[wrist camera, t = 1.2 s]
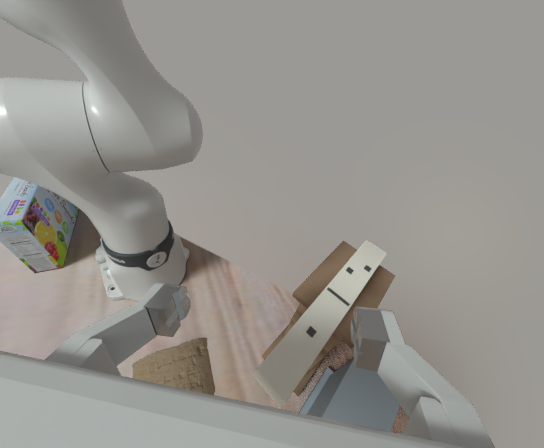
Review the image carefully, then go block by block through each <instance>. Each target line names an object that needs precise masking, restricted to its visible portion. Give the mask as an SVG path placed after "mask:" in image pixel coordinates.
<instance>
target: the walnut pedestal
mask: <svg viewBox="0 0 544 448" xmlns="http://www.w3.org/2000/svg"><path fill="white" fill-rule="evenodd" d="M356 251H357V250H356V249H355V248H353V247H352V246H350V245H349V244H348V243H346V242H344V241H343V242H342V243H341V244H340V245H339V246H338V247H337V248H336V249H335V250H334V251H333V252H332V253H331V254H330V255H329V256H328V257H327V258H326V259H325V260H324V261H323V263H322V264H320V265H319V267H318V268H317V269H316V270H315V271H314V272H313V273H312V274H311V275H310V276H309V277H308V278H307V279H306V280H305V281H304V282H303V283H302V284H301V285H300V286H299V287H298V288H297V289H296V290H295V291H294V293H293V295H292V296H293V297H294V298H296V299H297V300H298V301H299V302H300V305H299V306H298V308H297V310H296V312H295V314H294V316H293V318H292V320H291V322H290V324H289V325H288V326H287V327H286V328H285V330H284V331H283V332H282V333H281V334H280V335H279V337H278V338H277V339H276V340H275V341H274V342H273V343H272V345H271V346H270V347H269V348H268V349H267V350H266V352H265V353H264V354H263V355H262V357H263V358H264V359H266V357H267V356H268V355H269V354H270V353H271V352H272V350H273V349H274V348H275V347H276V346H277V344H278V343H279V342H280V341H281V340H282V339H283V337H284V336H285V335H286V334H287V333H288V331H289V330H290V329H291V328H292V327H293V326H294V324H295V323H296V322H297V321H298V320H299V318H300V317H301V316H302V315H303V314H304V313H305V311H306V310H307V309H308V308H309V307H310V305H311V304H312V303H313V302H314V301H315V300H316V298H317V297H318V296H319V295H320V294H321V293H322V291H323V290H324V289H325V288H326V287H327V285H328V284H329V283H330V282H331V281H332V280H333V278H334V277H335V276H336V275H337V274H338V272H339V271H340V270H341V269H342V268H343V267H344V265H345V264H346V263H347V262H348V261H349V259H350V258H351V257H352V256H353V255H354V254H355V252H356ZM394 277H395V275H393V274H392V273H390V272H389V271H387V270H386V269H384V268H383V267H382V266H380V265H379V266H378V267H377V269H376V270H375V272H374V273H373V275H372V276H371V277H370V279H369V280H368V282H367V283H366V285H365V286H364V288H363V289H362V291H361V292H360V294H359V295H358V297H357V298H356V300H355V301H354V303H353V304H352V306H351V307H350V308H349V310H348V311H347V313H346V314H345V316H344V317H343V319H342V320H341V322H340V323H339V325H338V326H337V328H336V329H335V331H334V332H333V334H332V335H331V336H330V338H329V339H328V341H327V342H326V344H325V345H324V347H323V348H322V350H321V351H320V353H319V354H318V356H317V357H316V359H315V360H314V362H313V363H312V365H311V366H310V367H309V369H308V370H307V372H306V373H305V375H304V376H303V378H302V379H301V381H300V382H299V384H298V385H297V387H296V388H295V390H294V393H295V394H296V395H297V396H299V395H300V393H301V392H302V390H303V389H304V387H305V386H306V384H307V383H308V381H309V380H310V378H311V376H312V375H313V373H314V372H315V370H316V369H317V367H318V366H319V364H320V363H321V361H322V360H323V358H324V357H325V355H326V354H327V353H328V352H329V351H331V350H332V349H333V348H334V347H335V346H336V345H337V344H338V343H339V342H340V341H341V340H343V341H344V342H345V343H346V344H347V345H349V346H350V347H351V348H353V347H354V344H353V343H352V341H351V321H352V319H353V318H354V315H353V311H354V307H355V306H356V307H365V308H374V309H377V307H378V305H379V304H380V302H381V300H382V298H383V297H384V295H385V293H386V291H387V290H388V288H389V286H390V284H391V283H392V281H393V279H394Z"/></svg>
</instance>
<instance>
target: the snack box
mask: <svg viewBox="0 0 544 448" xmlns="http://www.w3.org/2000/svg"><path fill="white" fill-rule="evenodd" d="M78 212H79V208H78V207H76V206H75V205H74V204H72V203H71V202H69V201H68V200H66V199H64V198H63V197H61V196H59V195H57V194H55V193H53V192H52V191H50V190H47V189H45V188H43V187H41V186H39V185H36V184H33V183H31V182H28V181H25V180H22V179H19V178H16V177H14V179H13V180H12V181H11V183H10V185H9V186H8V188H7V189H6V191H5V192H4V194H3V196H2V197H1V199H0V242H2V243H3V244H4V245H5V246H6V247H7V248H8V249H9V250H10V251H11V252H12V253H13V254H15V255H16V256H17V257H18V258H19V259H20V260H21V261H22V262H23V263H24V264H25V265H26V266H28V267H29V268H30V269H31V270H32V271H33V272H34V273H37V272H42V271H47V270H53V269H58V268H63V266H64V262H65V258H66V255H67V251H68V247H69V243H70V240H71V236H72V233H73V229H74V226H75V222H76V219H77V215H78Z"/></svg>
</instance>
